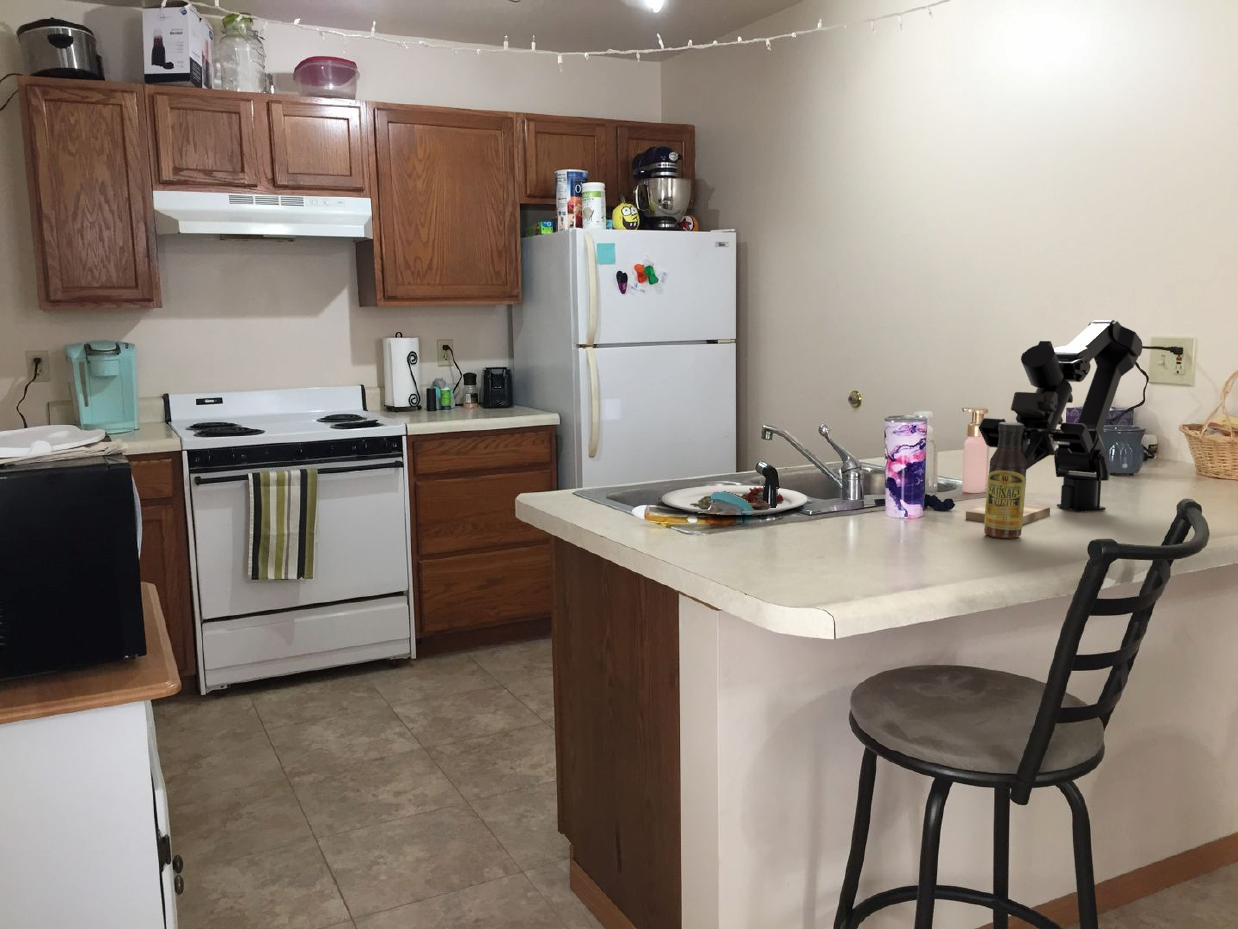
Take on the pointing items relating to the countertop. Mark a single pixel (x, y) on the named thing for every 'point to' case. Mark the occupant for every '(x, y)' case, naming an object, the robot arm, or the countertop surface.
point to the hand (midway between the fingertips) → (1018, 471)
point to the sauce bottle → (1006, 484)
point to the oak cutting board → (1028, 514)
